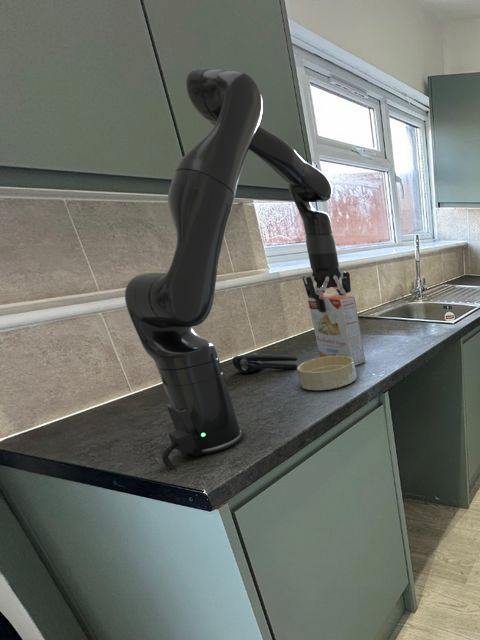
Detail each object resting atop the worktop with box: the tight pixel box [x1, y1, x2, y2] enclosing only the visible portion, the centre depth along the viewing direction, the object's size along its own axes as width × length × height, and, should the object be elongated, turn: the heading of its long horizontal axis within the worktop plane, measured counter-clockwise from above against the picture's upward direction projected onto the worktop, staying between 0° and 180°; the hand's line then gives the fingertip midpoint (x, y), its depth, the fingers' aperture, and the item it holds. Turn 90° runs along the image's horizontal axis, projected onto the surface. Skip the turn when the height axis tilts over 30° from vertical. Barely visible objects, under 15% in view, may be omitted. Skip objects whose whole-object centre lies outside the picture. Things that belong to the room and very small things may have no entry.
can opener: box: [232, 352, 298, 374], centre depth 124 cm, size 18×7×6 cm, turn 99°
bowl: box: [296, 356, 358, 391], centre depth 113 cm, size 14×14×6 cm
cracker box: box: [306, 293, 366, 367], centre depth 126 cm, size 14×6×21 cm, turn 62°
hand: (333, 309), depth 124 cm, fingers open, 6 cm apart
